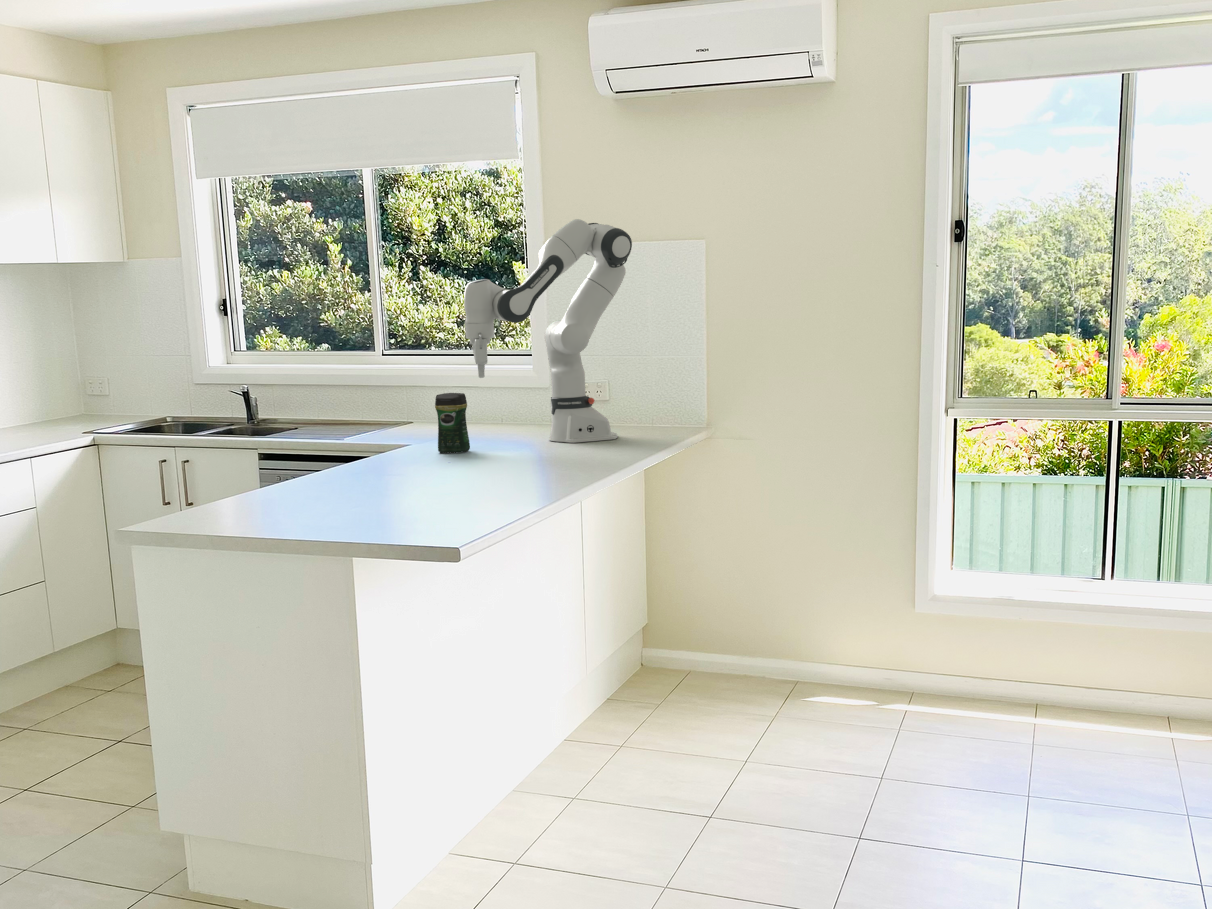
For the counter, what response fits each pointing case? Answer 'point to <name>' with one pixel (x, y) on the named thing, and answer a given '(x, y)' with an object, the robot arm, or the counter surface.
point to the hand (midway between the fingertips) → (481, 377)
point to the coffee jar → (452, 423)
